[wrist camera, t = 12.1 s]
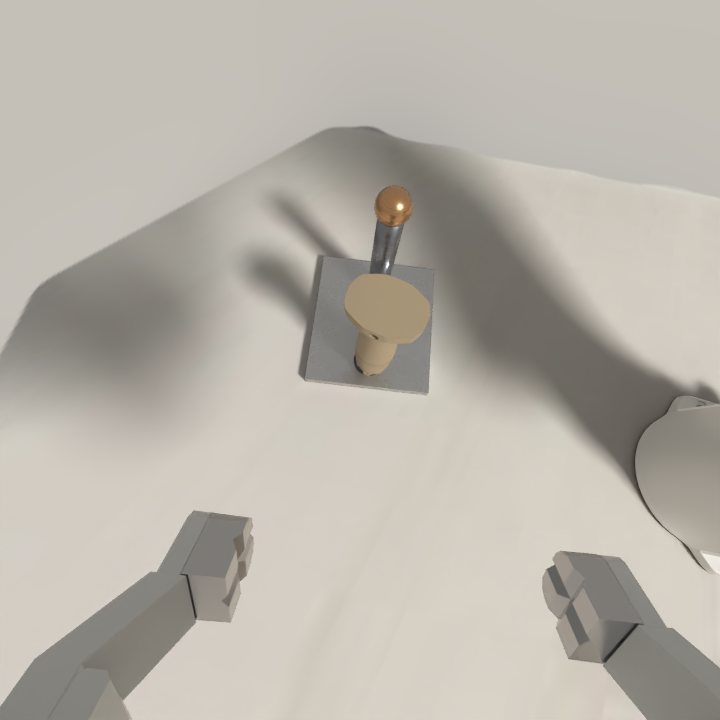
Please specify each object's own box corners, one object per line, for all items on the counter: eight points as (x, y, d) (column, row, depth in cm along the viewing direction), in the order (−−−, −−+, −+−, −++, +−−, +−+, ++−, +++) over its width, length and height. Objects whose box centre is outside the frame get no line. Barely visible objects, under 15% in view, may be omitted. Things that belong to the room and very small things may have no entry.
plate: (431, 274, 46) (434, 269, 45) (425, 395, 41) (428, 392, 40) (324, 261, 46) (323, 255, 44) (305, 381, 41) (304, 378, 39)
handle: (354, 334, 41) (361, 263, 27) (404, 357, 41) (439, 295, 27) (336, 371, 40) (334, 315, 26) (388, 394, 39) (416, 350, 25)
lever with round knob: (390, 281, 44) (417, 179, 29) (388, 304, 43) (415, 211, 28) (364, 277, 44) (378, 174, 28) (362, 301, 43) (374, 206, 27)
